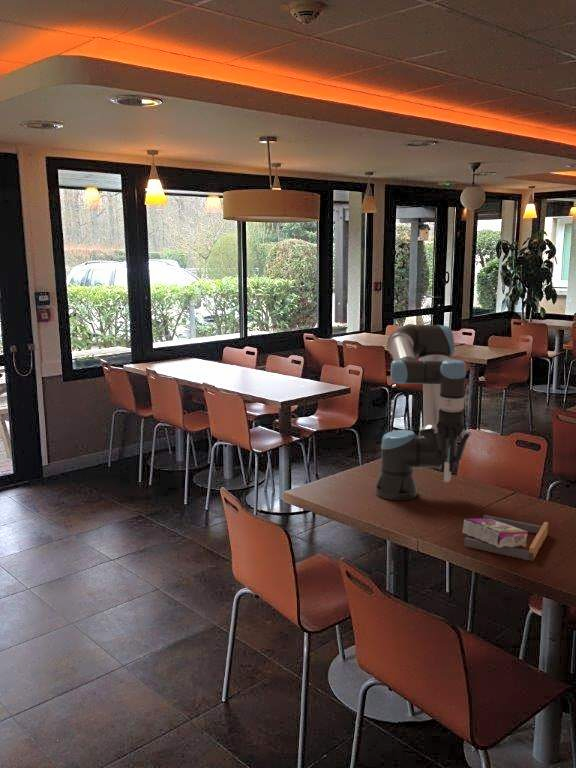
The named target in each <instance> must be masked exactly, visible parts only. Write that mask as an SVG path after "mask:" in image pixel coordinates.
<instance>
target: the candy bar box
mask: <svg viewBox="0 0 576 768" xmlns="http://www.w3.org/2000/svg"><path fill="white" fill-rule="evenodd" d="M462 534H464V535H466V536H469V537H470V538H472V539H476V540H481V541H483V542H485V543H488V544H490V545H493V546H495V547H497V548H506V547H513V548H526V547H527V544H528V536H529V535H528V534H529V532H528V531H525V530H522V529H519V528H516V527H513V526H511V525H508V524H505V523H502V522H499V521H496V520H494V519H483V518H464V519H463V524H462Z"/></svg>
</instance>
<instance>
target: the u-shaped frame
mask: <svg viewBox="0 0 576 768" xmlns="http://www.w3.org/2000/svg"><path fill="white" fill-rule="evenodd" d="M482 519H494V520H496V521H499V522H502V523H505V524H508V525H511V526H513V527H516V528H519V529H522V530H525V531H528V533H532V534H535V537H534V538H533V540H532V541H531V543H530V545H529V547H528V550H526V549H523V548H519V547H506V548H497V547H495V546H493V545H490V544H488V543H485V542H483V541H481V540H478V539H476V538H473V537H466V536H465V538H464V545H463V546H464V547H467V548H471V549H476V550H479V551H480V550H481V551H485V552H490V553H494V554H498V555H504V556H507V557H511V556H512V557H513V558H516V557H517V558H516V559H520V558H521V559H520V560H525V561H529V560H530V561H531V562H534V560H535V558H536V556H537V554H538V552H539V551H540V549H539V548H541V547H542V545H543V544H544V542H543V541H545V539H546V538H547V536H548V533H549V532H548V530H549V522H548V521H547V522H546V521H544V522H543V524H542V525H539V524H538V525H537V524H532V523H528V522H522V521H519V520H512V519H507V518H503V517H497V516H493V515H487V514H484V515H483V518H482ZM538 550H539V551H538Z"/></svg>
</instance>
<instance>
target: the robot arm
mask: <svg viewBox="0 0 576 768" xmlns="http://www.w3.org/2000/svg"><path fill="white" fill-rule="evenodd" d="M386 345H387V346H386V348H387V350H388V352H389V355H391V356H392V358H393V359H392V361H391V363H390V381H391V382H392V383H394V384H401V385H403V384H404V385H405V384H407V385H408V384H411V385H412V384H416V385H417V384H419V385H421V384H422V398H423V399H422V402H423V403H422V404H423V405H422V407H423V409H422V411H423V413H422V414H423V416H422V417H423V426H422V427H421V428H420V430H419V433H418V434H419V435H416V433H415V432H414V431H413V430H410V429H409V430H407V429H397V430H392V431H388V432H387V433H385V434H384V435H383V436H382V438H381V446H380V447H381V457H380V458H381V459H380V460H381V461H380V474H379V476H378V479H377V482H376V485H375V494H376V496H377V497H380V498H381V499H385V500H390V501H408V500H409V501H410V500H412V499H414V498H416V497H417V496H418V487H417V485H416V481H415V477H414V468H422V469H423V468H425V469H426V468H427V469H428V468H429V469H430V468H431V469H438V470H439V469H441V471H443V482H445V483H450V481H451V480H452V479H451V478H452V473H453V472H454V471H455V466H456V465H455V463H458V462H459V461H460V460H461V459H462V458H463V457H462V456H463V453H464V450H465V447H466V444H467V442H468V439H469V438H470V437H471V436H472V435H471V432H470V431H467V430H465V426H464V423H463V422H464V411H463V410H464V409H465V391H466V375H467V364H466V362H465V361H463V360H460V359H452V358H451V357H453V356H454V354H455V339H454V334H453V331H452V329H451V328H450V326H448V325H441V324H431V325H430V324H407V325H403V326H401V327H399V328H397V329H395V330H394V331H392V333H391V334H390V335H389V336H388V338H387V342H386ZM417 357H418V360H417ZM460 435H461V440H460V443H459V445H458V437H459V436H460ZM458 446H459V447H458ZM457 447H458V448H457Z"/></svg>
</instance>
